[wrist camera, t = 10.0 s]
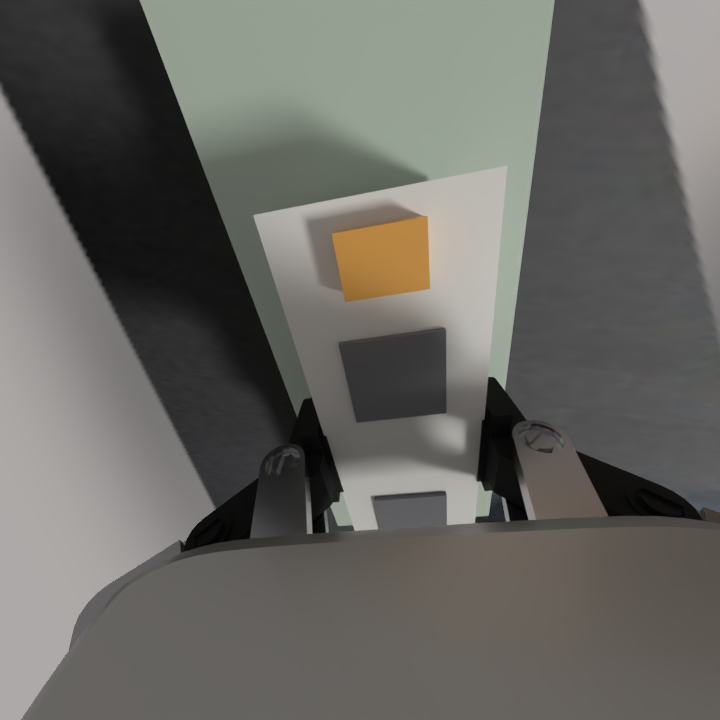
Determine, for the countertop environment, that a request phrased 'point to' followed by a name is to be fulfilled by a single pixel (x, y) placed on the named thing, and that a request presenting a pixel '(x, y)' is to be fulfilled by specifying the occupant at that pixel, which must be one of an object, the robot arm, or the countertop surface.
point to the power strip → (396, 337)
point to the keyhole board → (356, 119)
